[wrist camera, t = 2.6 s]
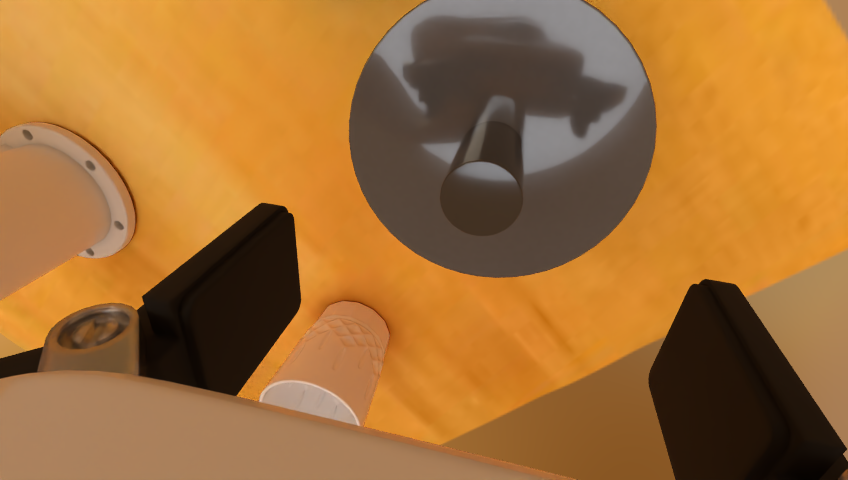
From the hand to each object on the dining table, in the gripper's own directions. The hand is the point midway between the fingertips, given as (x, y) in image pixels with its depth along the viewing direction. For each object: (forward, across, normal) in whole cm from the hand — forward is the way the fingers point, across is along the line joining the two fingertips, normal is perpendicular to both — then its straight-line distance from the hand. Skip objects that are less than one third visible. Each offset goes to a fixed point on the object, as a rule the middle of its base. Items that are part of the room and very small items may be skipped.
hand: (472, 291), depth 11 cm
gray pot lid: (+11, 0, 0) cm, 11 cm away
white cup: (+21, +10, +22) cm, 32 cm away
